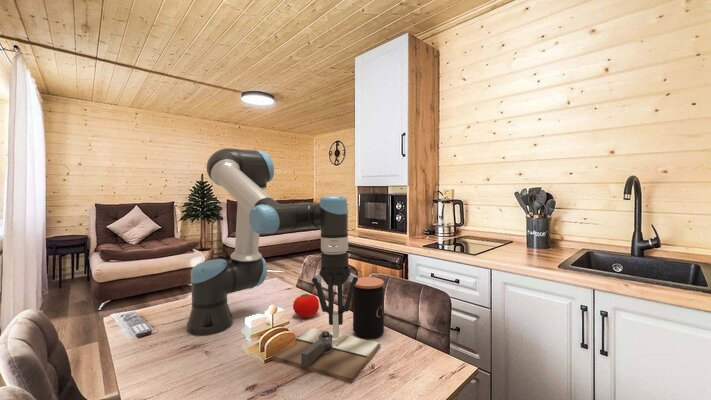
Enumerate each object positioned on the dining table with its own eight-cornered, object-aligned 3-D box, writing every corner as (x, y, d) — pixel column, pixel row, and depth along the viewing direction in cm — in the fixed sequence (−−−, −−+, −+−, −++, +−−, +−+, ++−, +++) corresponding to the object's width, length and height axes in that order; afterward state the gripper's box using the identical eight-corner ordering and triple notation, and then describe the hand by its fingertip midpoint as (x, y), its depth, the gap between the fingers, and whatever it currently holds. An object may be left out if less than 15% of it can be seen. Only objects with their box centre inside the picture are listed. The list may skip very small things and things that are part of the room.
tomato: (323, 316, 124) (323, 295, 124) (299, 323, 119) (298, 300, 118) (312, 309, 132) (312, 289, 132) (289, 314, 126) (289, 293, 126)
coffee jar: (382, 341, 104) (381, 286, 103) (350, 338, 106) (349, 285, 105) (385, 327, 114) (385, 277, 114) (356, 324, 117) (356, 276, 116)
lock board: (272, 359, 93) (272, 353, 93) (310, 331, 111) (310, 326, 111) (351, 383, 82) (351, 376, 82) (380, 347, 100) (380, 342, 100)
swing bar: (323, 343, 99) (323, 328, 99) (334, 345, 97) (334, 331, 97) (298, 364, 87) (298, 348, 87) (310, 367, 85) (310, 351, 85)
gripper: (309, 254, 84) (310, 342, 85) (358, 254, 84) (359, 341, 85) (312, 249, 92) (314, 330, 93) (358, 248, 92) (359, 329, 93)
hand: (336, 335), depth 89 cm, fingers closed
